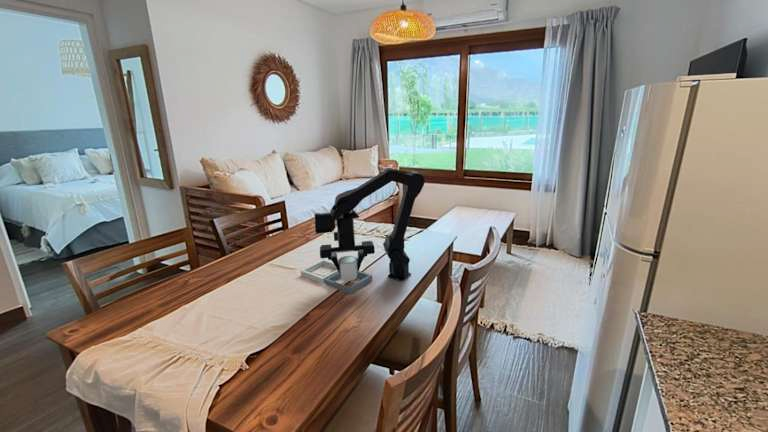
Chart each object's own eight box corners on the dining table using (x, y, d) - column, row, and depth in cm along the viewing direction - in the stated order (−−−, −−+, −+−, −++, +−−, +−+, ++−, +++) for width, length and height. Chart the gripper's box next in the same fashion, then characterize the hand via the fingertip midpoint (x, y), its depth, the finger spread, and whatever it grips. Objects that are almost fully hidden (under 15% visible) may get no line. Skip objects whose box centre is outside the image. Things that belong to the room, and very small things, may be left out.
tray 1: (345, 271, 134) (345, 266, 133) (323, 283, 124) (322, 278, 124) (324, 263, 140) (323, 259, 140) (301, 275, 131) (300, 270, 131)
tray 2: (372, 279, 126) (372, 274, 126) (350, 294, 117) (350, 288, 116) (347, 271, 133) (347, 267, 132) (325, 284, 124) (324, 279, 123)
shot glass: (357, 281, 121) (356, 263, 119) (338, 282, 121) (336, 263, 119) (359, 272, 128) (358, 255, 125) (340, 273, 128) (339, 255, 126)
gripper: (370, 221, 128) (371, 259, 133) (318, 225, 125) (322, 264, 130) (373, 231, 117) (375, 272, 122) (318, 235, 115) (322, 278, 120)
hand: (348, 271), depth 124 cm, fingers closed on shot glass, 6 cm apart
